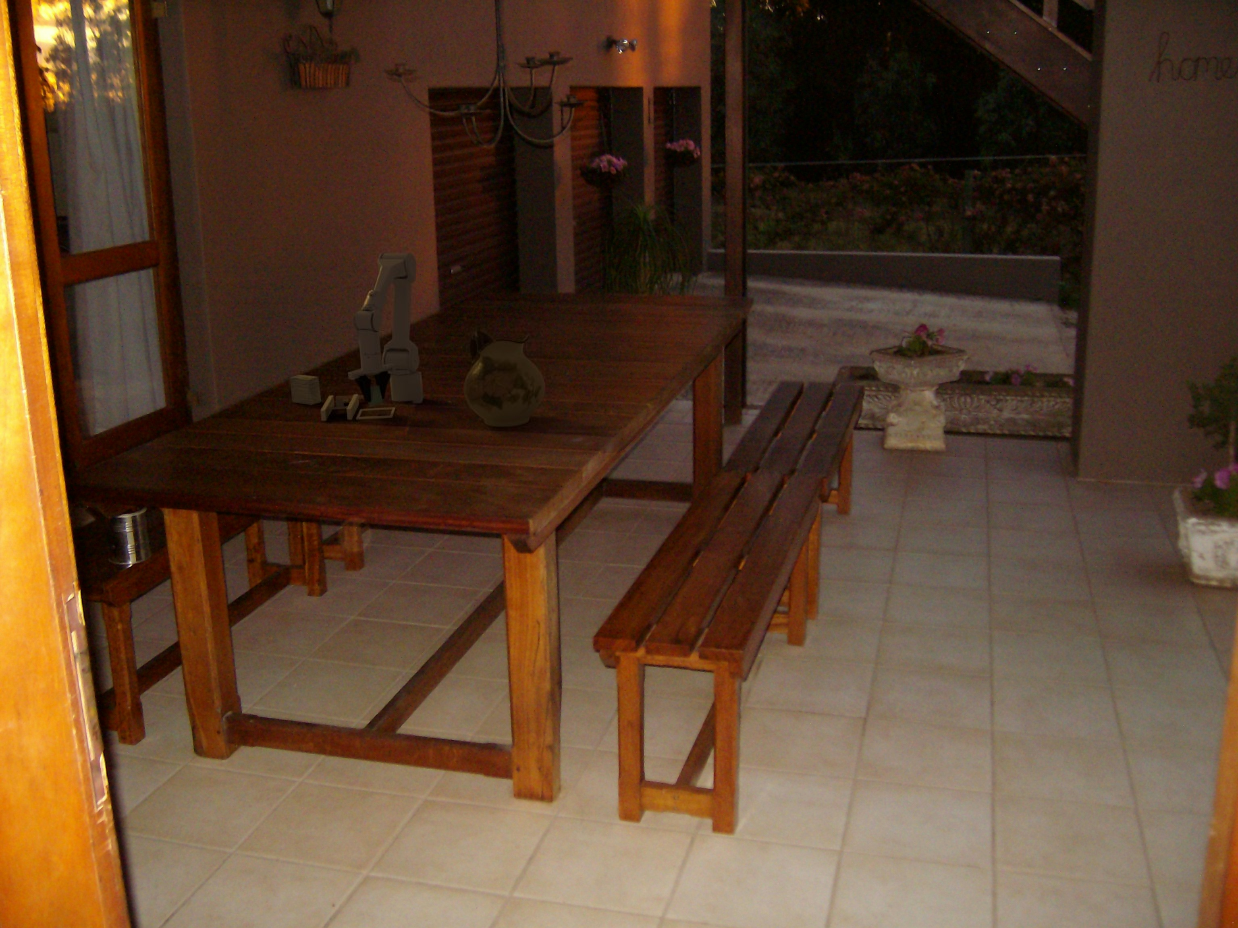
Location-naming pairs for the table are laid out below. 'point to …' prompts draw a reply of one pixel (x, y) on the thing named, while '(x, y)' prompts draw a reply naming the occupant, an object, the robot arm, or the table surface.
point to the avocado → (375, 396)
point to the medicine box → (305, 389)
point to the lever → (342, 399)
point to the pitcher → (502, 381)
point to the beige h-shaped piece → (330, 403)
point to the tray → (375, 416)
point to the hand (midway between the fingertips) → (374, 400)
